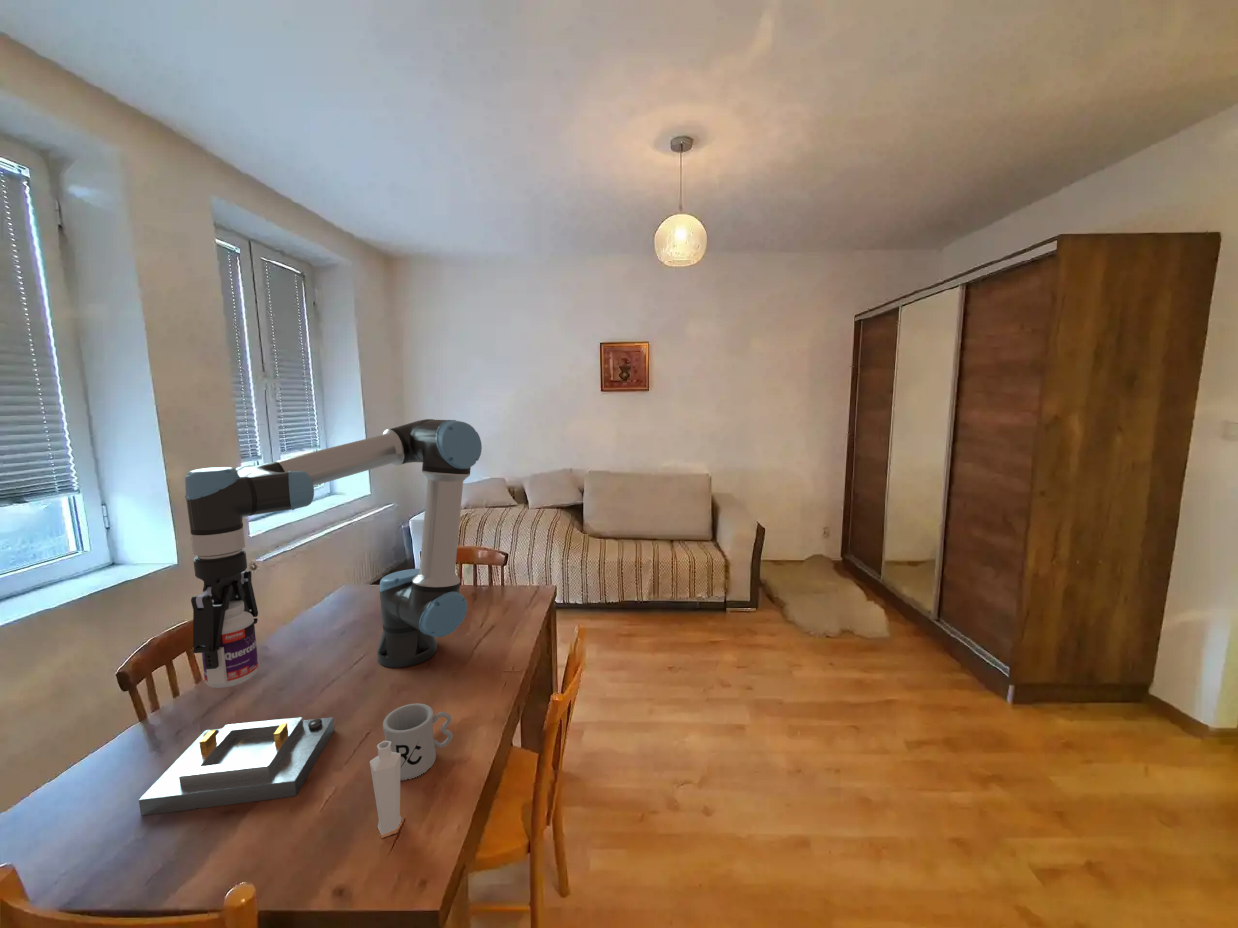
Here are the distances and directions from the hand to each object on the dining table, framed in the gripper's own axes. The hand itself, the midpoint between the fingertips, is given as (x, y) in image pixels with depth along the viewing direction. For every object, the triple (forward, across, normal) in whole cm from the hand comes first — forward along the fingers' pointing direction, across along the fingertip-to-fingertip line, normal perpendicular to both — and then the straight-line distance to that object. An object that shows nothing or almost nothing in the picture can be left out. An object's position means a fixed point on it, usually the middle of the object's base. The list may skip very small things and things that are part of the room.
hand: (232, 669), depth 95 cm
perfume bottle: (+20, +20, +32) cm, 43 cm away
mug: (+20, +4, +34) cm, 39 cm away
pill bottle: (+2, 0, 0) cm, 2 cm away
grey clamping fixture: (+19, +2, +2) cm, 20 cm away
